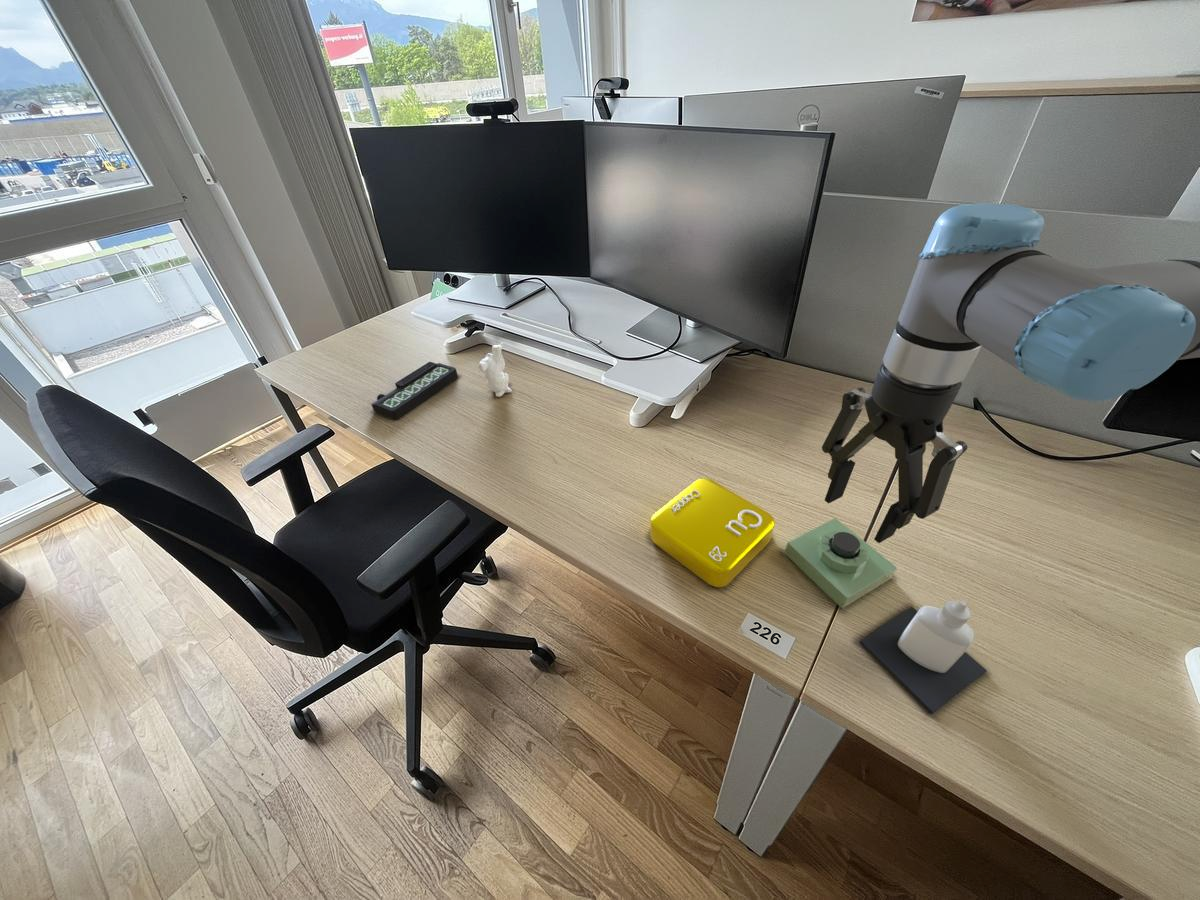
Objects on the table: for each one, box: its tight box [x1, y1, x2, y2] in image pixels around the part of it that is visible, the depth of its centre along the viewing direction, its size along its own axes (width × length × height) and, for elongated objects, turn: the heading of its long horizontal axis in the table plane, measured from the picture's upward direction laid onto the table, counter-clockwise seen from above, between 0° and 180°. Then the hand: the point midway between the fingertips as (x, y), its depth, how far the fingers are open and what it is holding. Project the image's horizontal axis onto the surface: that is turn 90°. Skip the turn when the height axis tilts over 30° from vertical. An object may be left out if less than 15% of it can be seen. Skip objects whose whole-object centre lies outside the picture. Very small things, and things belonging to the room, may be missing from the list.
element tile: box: [650, 477, 776, 588], centre depth 74 cm, size 15×15×5 cm
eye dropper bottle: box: [898, 599, 975, 673], centre depth 55 cm, size 4×6×12 cm
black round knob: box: [830, 532, 860, 559], centre depth 67 cm, size 4×4×2 cm
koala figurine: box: [477, 342, 512, 398], centre depth 110 cm, size 8×7×12 cm
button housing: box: [784, 517, 898, 609], centre depth 69 cm, size 11×10×4 cm
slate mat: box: [859, 606, 988, 715], centre depth 59 cm, size 10×10×1 cm
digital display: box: [371, 361, 459, 421], centre depth 116 cm, size 21×3×10 cm
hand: (857, 516), depth 63 cm, fingers open, 7 cm apart
